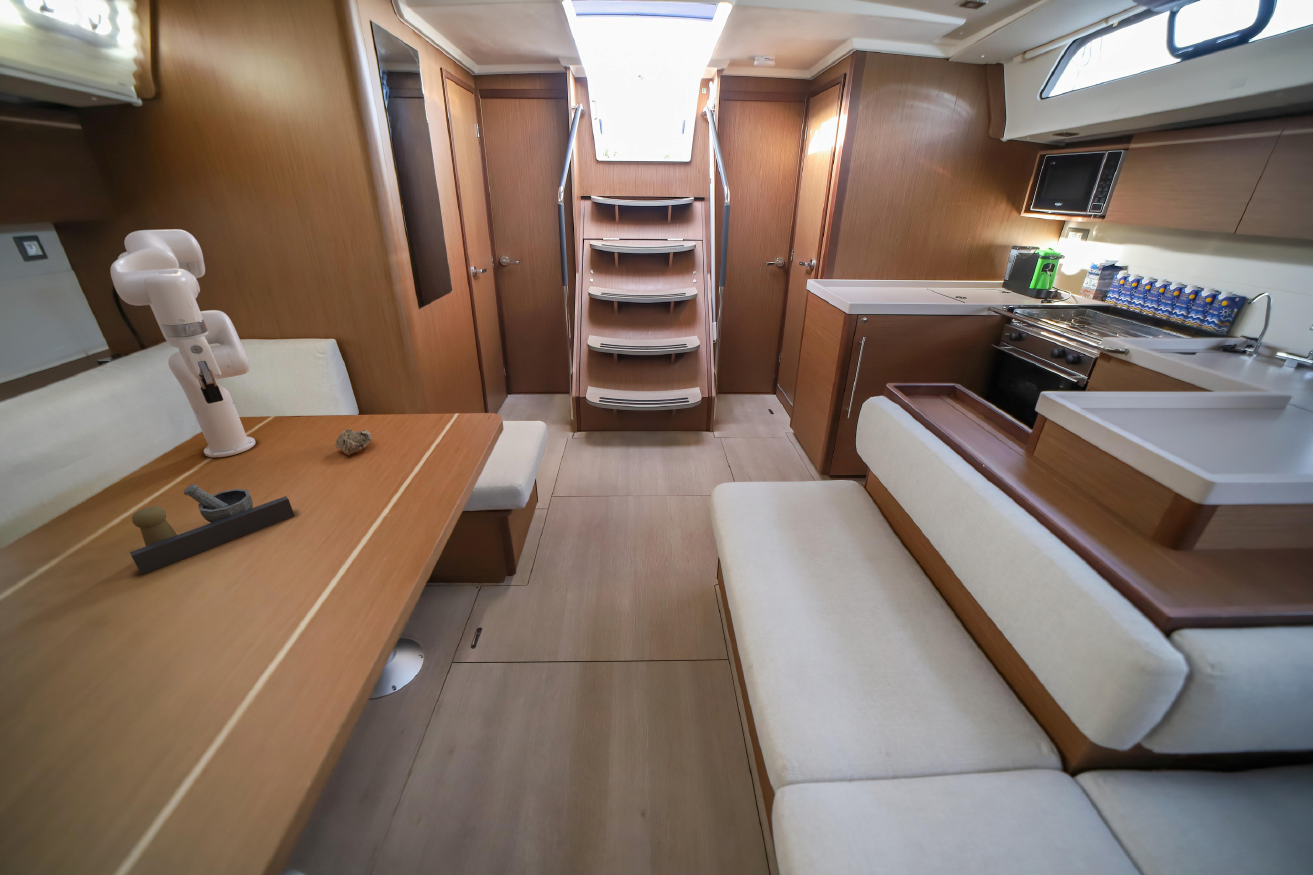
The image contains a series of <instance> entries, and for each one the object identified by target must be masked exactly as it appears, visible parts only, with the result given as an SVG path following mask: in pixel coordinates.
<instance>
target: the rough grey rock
mask: <svg viewBox="0 0 1313 875" xmlns="http://www.w3.org/2000/svg"><path fill="white" fill-rule="evenodd" d="M372 439H373V434H372V433H371V432H370V431H369V430H368V429H363V430H352V429H351V428H347V429H345V430H343V431H342V432H341V433H340V434H339V435H338V437H337V439H336V440H335V446H336V448H337V449H338V450H340V451H342V452H343V453H344V454H346V455H347V456H351V455H352V454H355V453H357V452H359V451H362V450H363V449H365V448H366V447H367V446H368V445H370V443H371V442H372Z"/></svg>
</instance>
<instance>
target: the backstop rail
mask: <svg viewBox="0 0 1313 875" xmlns="http://www.w3.org/2000/svg"><path fill="white" fill-rule="evenodd" d="M293 517H295V512H294V510H293V507H292V504H291V502H290V499H289V498H288V497H287V496H286V495H285V496H282V497H279V498H276V499H273V500H271V501H268V502H265V503H262V504H258V505H257V506H253V507H252V508H251V509H248V510H246V511H243V512H240V513H237V514H234V515H232V516H229V517H226V518H223V519H220V520H218V521H215V522H212V523H210V522H208V523H207V524H204V525H201V526H198V527H196V528H193V529H190V530H187V531H184V532H182V533H179V534H177V535H176V536H173V537H170V538H168V539H165V540H162V541H159V542H156V543H154V544H151V545H148V546H146V545H144V546H143V547H140V548H137V549H134V550H131V551H129V554H130V557H131V558H132V560H133V562H134V564H135V565H136V567H137V569H138V570H139V572H140V574H141V575H142V576H143V575H145V574H146V575H147V574H149V573H151V572H153V571H157V570H159V569H162V568H164V567H166V566H169V565H171V564H174V563H177V562H179V561H181V560H186V559H187V558H189V557H192V556H194V555H198V554H200V553H203V552H205V551H207V550H210V549H214V548H216V547H219V546H221V545H223V544H226V543H228V542H231V541H234V540H236V539H239V538H241V537H244V536H247V535H249V534H252V533H254V532H257V531H259V530H263V529H265V528H267V527H270V526H272V525H275V524H278V523H280V522H283V521H285V520H288V519H291V518H293Z"/></svg>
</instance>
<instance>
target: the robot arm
mask: <svg viewBox="0 0 1313 875" xmlns="http://www.w3.org/2000/svg"><path fill="white" fill-rule="evenodd" d="M124 247H125V250H126V251H125V252H122V253H120V254H119V256H117V259H116V260H115V261H113V263H112V264H111V266H110V278H111V280H112V284H113V286H114V289H115V292H116V293H117V295H118V296H119V298H120V299H121V300H122V301H123V302H125V303H126V304H128V305H131V306H135V307H137V306H141V307H142V306H149V307H150V308H151V311H152V313H153V316H154V318H155V320H156V322H157V325H158V327H159V329H160V331H161V334H162V336H163V338H164V339H165V341H166V342H167V344H169V346H172V347H173V348H177V349H178V351H176V352H174V353H173V354H171V355H170V356H169V358H168V361H167V362H168V367H169V369H170V371H171V372H172V374H173V376H174V377H175V379H176V380H177V382H178V383H179V385H180V386H181V388H182V390H183V392H184V394H185V396H186V398H187V400H188V403H189V404H190V407H191V409H192V411H193V414H194V416H195V419H196V420H197V424H198V425H199V428H200V430H201V432H202V434H203V437H204V440H205V441H206V444H207V446H206V447H205V448H204V449H203V454H204V456H206V457H208V458H224V457H225V458H226V457H230V456H235V455H238V454H241V453H245V452H246V451H248V450H250V449H251V448H253V447H254V446H255V445H256V443H257V442H256V438H254V437H252V436H247V434H246V430H245V428H244V425H243V423H242V421H241V418H240V416H239V413H238V410H237V407H236V405H235V403H234V400H233V398H232V395H231V393H230V392H229V390H228V389H227V388H225V387H224V386H222V385H221V384H219V383H217V381H218V380H223V379H227V378H234V377H236V376H237V377H238V376H242V375H243V376H244V375H246V374H248V373H249V371H250V370H251V363H250V359H249V357H248V354H247V353H246V350H245V348H244V346H243V344H242V341H241V339H240V337H239V334H238V332H237V330H236V328H235V325H234V324H233V321H232V319H231V318H230V317H229V315H228V314H227V313H226V312H224V311H223V310H222V311H221V310H217V309H211V310H209V309H208V310H202V311H201V309H200V307H199V304H198V302H197V298H198V296H199V293H200V292H201V287H200V284H199V281H198V280H197V279H199V278H202V277H204V275H205V274H206V266H205V265H206V264H205V261H204V260H205V259H204V254H203V251H202V248H201V246H200V244H199V242H198V240H197V239H196V237H194V235H193V234H192V233H190V232H188V231H186V230H183V229H180V228H179V229H178V228H177V229H176V228H175V229H143V230H135V231H132V232H130V233H128V234H127V235H126V237H125V238H124ZM215 344H217V345H215Z"/></svg>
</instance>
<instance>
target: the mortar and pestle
mask: <svg viewBox="0 0 1313 875" xmlns="http://www.w3.org/2000/svg"><path fill="white" fill-rule="evenodd" d="M183 495H185V496H189V497H190V498H192V499H193V500H194V501H196V502H197V503H198V505H197V506H198V510H199V512H200V514H201V516H202V518H203V519H204V520H205V521H207V523H212V522H215V521H218V520H220V519H223V518H226V517H229V516H232V515H234V514H237V513H240V512H243V511H246V510H248V509H251V508H254V503H253V499H252V495H251V494H250V491H249V490H248V489H243V488H233V489H229V490H224V491H223V490H222V491H219V492H218V493H215V494H210V493H209V492H207V491H206V490H203V489H202V488H200V487H199V486H198V485H197V484H196V483H193V484H191V485H189V486H187V487H186V488H185V489H184V491H183Z"/></svg>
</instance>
